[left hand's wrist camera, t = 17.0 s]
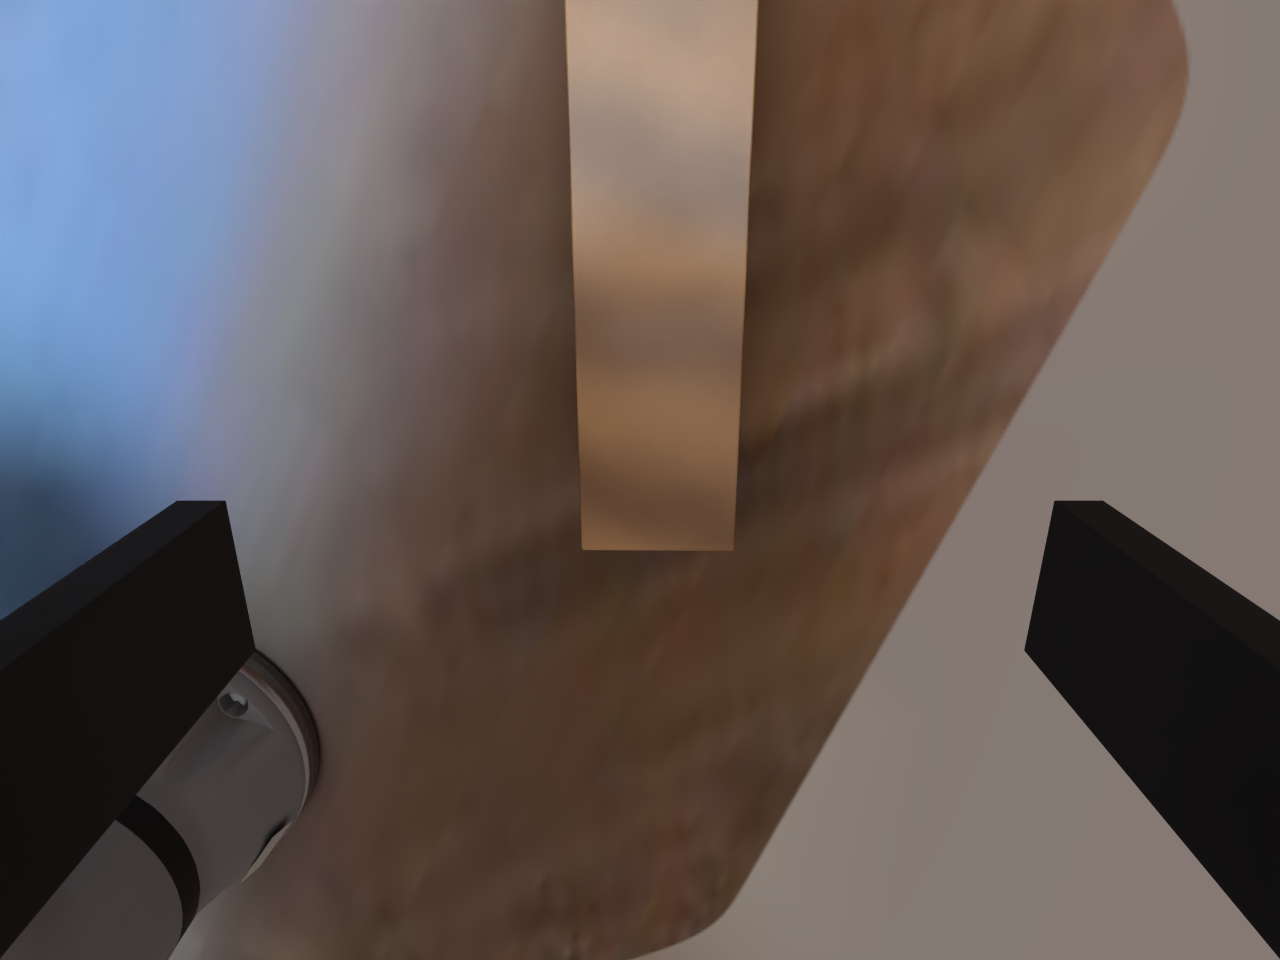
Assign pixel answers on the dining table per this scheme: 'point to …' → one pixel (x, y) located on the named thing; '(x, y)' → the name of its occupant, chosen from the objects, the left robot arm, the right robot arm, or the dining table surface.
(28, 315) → the dining table surface
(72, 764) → the left robot arm
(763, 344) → the dining table surface
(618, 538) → the beam
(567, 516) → the dining table surface
